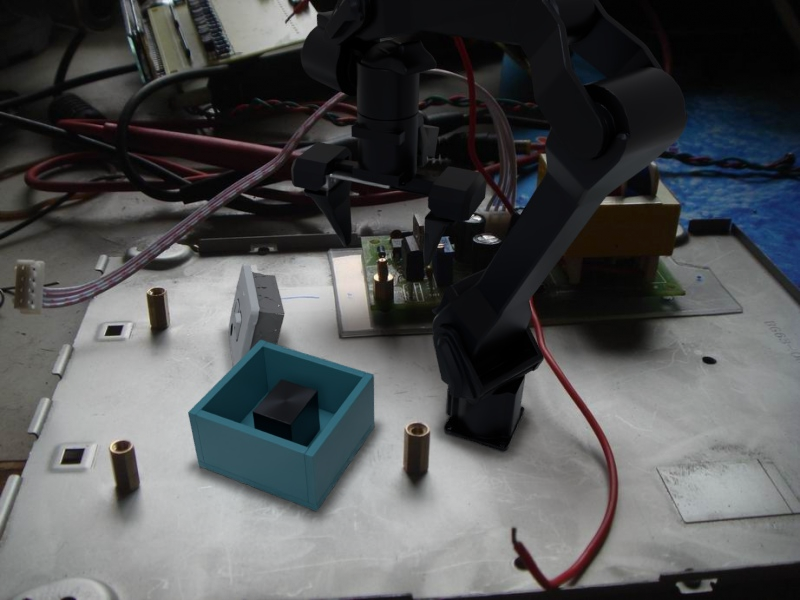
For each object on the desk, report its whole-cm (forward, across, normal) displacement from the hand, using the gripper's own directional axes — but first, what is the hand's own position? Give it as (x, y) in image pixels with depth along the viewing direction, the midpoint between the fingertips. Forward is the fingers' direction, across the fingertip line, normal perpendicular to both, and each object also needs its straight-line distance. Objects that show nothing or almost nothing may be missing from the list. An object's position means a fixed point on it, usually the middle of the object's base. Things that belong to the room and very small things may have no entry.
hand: (386, 254), depth 78 cm
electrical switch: (+12, +13, +7) cm, 19 cm away
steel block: (+11, +2, +18) cm, 21 cm away
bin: (+12, +2, +18) cm, 22 cm away
